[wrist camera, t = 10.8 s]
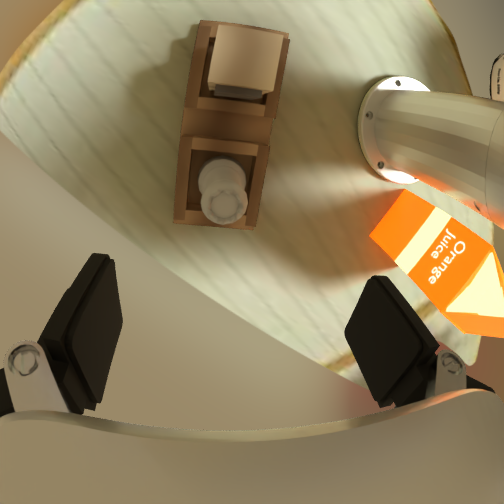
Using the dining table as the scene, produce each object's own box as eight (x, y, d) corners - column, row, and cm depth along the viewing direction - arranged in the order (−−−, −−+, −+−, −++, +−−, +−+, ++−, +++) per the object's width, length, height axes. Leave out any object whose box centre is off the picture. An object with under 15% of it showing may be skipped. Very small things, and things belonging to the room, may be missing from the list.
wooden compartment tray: (286, 35, 20) (320, 7, 12) (251, 226, 29) (267, 274, 21) (200, 23, 18) (195, -15, 10) (174, 219, 27) (160, 266, 20)
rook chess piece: (233, 207, 27) (240, 246, 20) (190, 190, 25) (181, 224, 18) (253, 166, 25) (270, 191, 18) (209, 146, 23) (207, 164, 17)
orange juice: (402, 265, 35) (489, 368, 18) (367, 236, 32) (473, 356, 14) (435, 223, 32) (536, 310, 15) (405, 187, 29) (534, 278, 12)
